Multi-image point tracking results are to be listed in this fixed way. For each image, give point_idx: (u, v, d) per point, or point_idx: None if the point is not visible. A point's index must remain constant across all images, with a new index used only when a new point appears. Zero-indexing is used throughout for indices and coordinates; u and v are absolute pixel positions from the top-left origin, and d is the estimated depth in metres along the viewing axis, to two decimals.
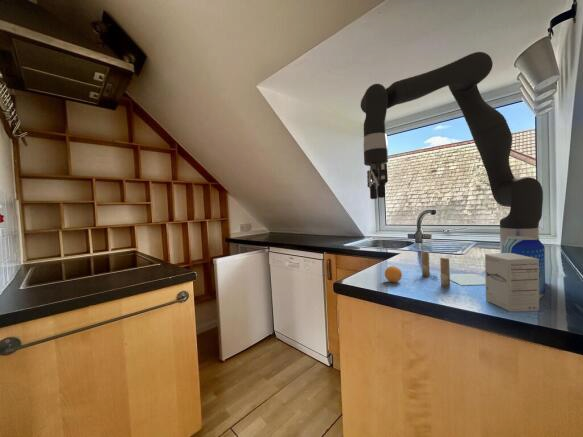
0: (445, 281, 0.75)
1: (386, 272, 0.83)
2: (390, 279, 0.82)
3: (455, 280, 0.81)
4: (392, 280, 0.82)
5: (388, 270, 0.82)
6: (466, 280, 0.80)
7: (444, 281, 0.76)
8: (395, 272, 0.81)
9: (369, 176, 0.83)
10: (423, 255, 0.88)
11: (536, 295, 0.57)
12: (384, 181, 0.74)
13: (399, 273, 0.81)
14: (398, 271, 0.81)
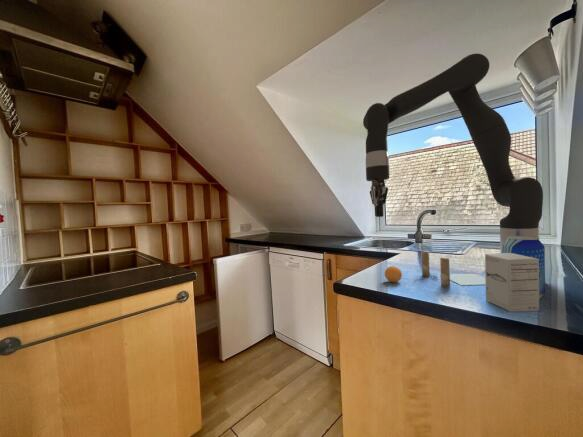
0: (445, 281, 0.75)
1: (386, 272, 0.83)
2: (390, 279, 0.82)
3: (455, 280, 0.81)
4: (392, 280, 0.82)
5: (388, 270, 0.82)
6: (466, 280, 0.80)
7: (444, 281, 0.76)
8: (395, 272, 0.81)
9: (372, 192, 0.84)
10: (423, 255, 0.88)
11: (536, 295, 0.57)
12: (382, 202, 0.79)
13: (399, 273, 0.81)
14: (398, 271, 0.81)
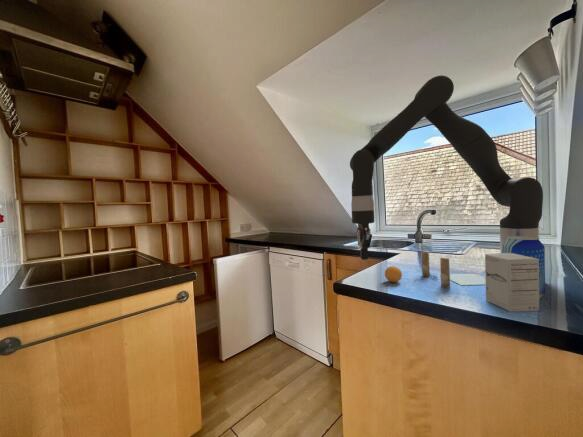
0: (445, 281, 0.75)
1: (386, 272, 0.83)
2: (390, 279, 0.82)
3: (455, 280, 0.81)
4: (392, 280, 0.82)
5: (388, 270, 0.82)
6: (466, 280, 0.80)
7: (444, 281, 0.76)
8: (395, 272, 0.81)
9: (357, 234, 0.85)
10: (423, 255, 0.88)
11: (536, 295, 0.57)
12: (366, 246, 0.80)
13: (399, 273, 0.81)
14: (398, 271, 0.81)
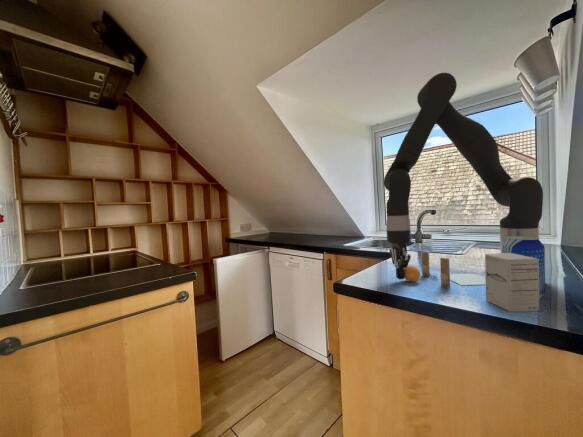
0: (445, 281, 0.75)
1: (416, 267, 0.82)
2: (411, 269, 0.81)
3: (455, 280, 0.81)
4: (410, 270, 0.81)
5: (418, 270, 0.82)
6: (466, 280, 0.80)
7: (444, 281, 0.76)
8: (418, 275, 0.81)
9: (392, 253, 0.84)
10: (423, 255, 0.88)
11: (536, 295, 0.57)
12: (404, 266, 0.80)
13: (415, 279, 0.81)
14: (417, 279, 0.81)
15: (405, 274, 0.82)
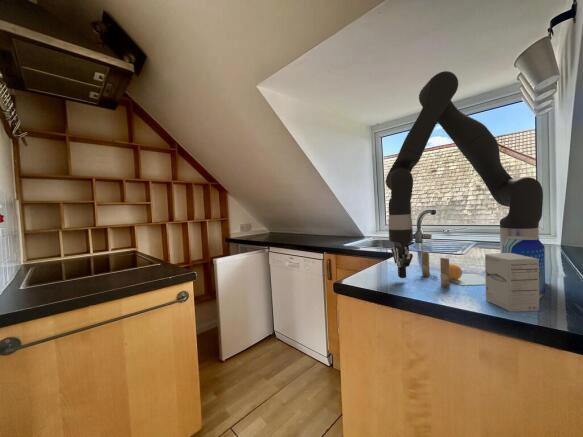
0: (445, 281, 0.75)
1: None
2: None
3: (455, 280, 0.81)
4: (450, 275, 0.81)
5: (451, 265, 0.81)
6: (466, 280, 0.80)
7: (444, 281, 0.76)
8: (458, 270, 0.80)
9: (394, 252, 0.84)
10: (423, 255, 0.88)
11: (536, 295, 0.57)
12: (406, 265, 0.80)
13: (461, 273, 0.80)
14: (461, 271, 0.80)
15: (452, 279, 0.81)
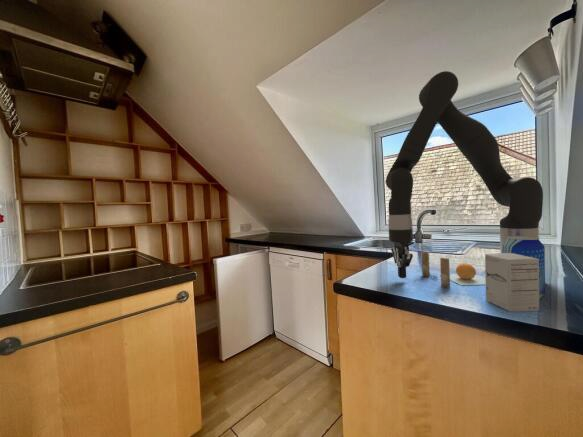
0: (445, 281, 0.75)
1: None
2: (469, 266, 0.80)
3: (455, 280, 0.81)
4: (467, 267, 0.80)
5: None
6: (466, 280, 0.80)
7: (444, 281, 0.76)
8: (474, 275, 0.80)
9: (394, 252, 0.84)
10: (423, 255, 0.88)
11: (536, 295, 0.57)
12: (406, 265, 0.80)
13: (469, 277, 0.80)
14: (471, 278, 0.80)
15: (461, 269, 0.81)
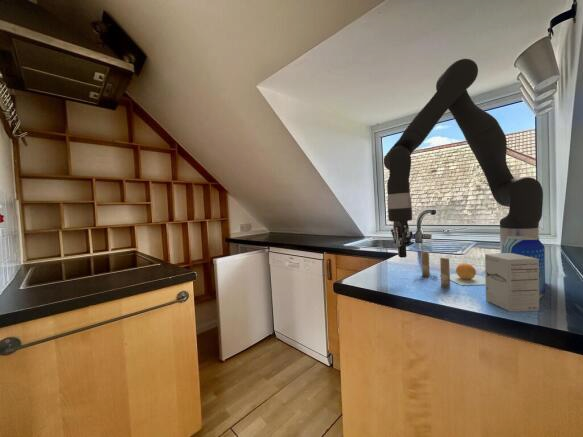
0: (445, 281, 0.75)
1: None
2: (469, 266, 0.80)
3: (455, 280, 0.81)
4: (467, 267, 0.80)
5: None
6: (466, 280, 0.80)
7: (444, 281, 0.76)
8: (474, 275, 0.80)
9: (394, 232, 0.84)
10: (423, 255, 0.88)
11: (536, 295, 0.57)
12: (406, 244, 0.80)
13: (469, 277, 0.80)
14: (471, 278, 0.80)
15: (461, 269, 0.81)
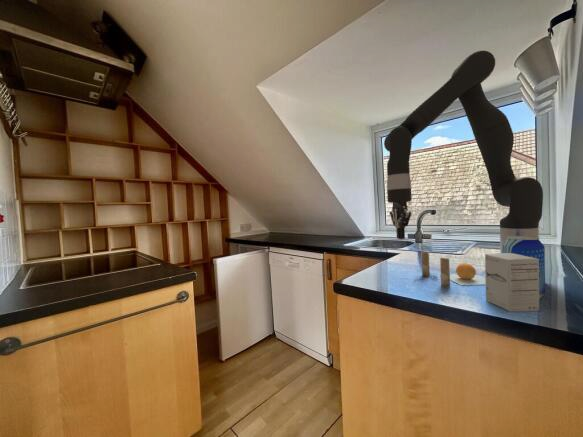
0: (445, 281, 0.75)
1: None
2: (469, 266, 0.80)
3: (455, 280, 0.81)
4: (467, 267, 0.80)
5: None
6: (466, 280, 0.80)
7: (444, 281, 0.76)
8: (474, 275, 0.80)
9: (393, 214, 0.84)
10: (423, 255, 0.88)
11: (536, 295, 0.57)
12: (404, 225, 0.80)
13: (469, 277, 0.80)
14: (471, 278, 0.80)
15: (461, 269, 0.81)
